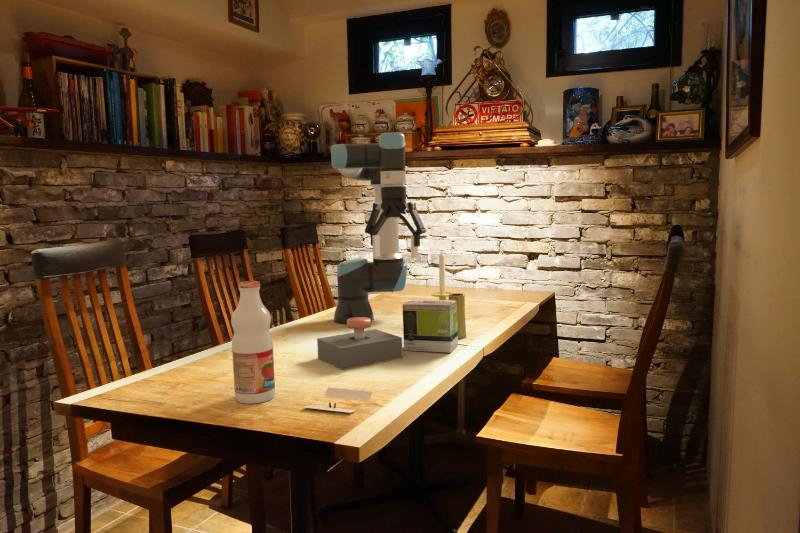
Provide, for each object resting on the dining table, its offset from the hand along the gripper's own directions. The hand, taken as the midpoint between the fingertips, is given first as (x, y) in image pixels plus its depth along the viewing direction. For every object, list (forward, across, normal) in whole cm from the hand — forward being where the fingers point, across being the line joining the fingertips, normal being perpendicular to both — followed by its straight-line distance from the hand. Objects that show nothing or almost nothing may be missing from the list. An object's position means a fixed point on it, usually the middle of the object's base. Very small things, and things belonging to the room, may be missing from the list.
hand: (395, 257), depth 185 cm
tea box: (+29, +8, +7) cm, 31 cm away
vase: (+29, +8, +25) cm, 39 cm away
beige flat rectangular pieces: (+30, +14, -47) cm, 57 cm away
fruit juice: (+29, -6, -53) cm, 61 cm away
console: (+29, -6, -12) cm, 32 cm away
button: (+25, -5, -12) cm, 29 cm away
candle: (+29, -10, +48) cm, 57 cm away
